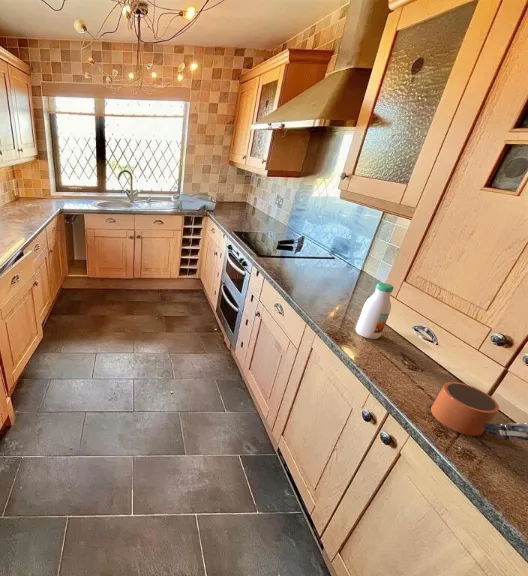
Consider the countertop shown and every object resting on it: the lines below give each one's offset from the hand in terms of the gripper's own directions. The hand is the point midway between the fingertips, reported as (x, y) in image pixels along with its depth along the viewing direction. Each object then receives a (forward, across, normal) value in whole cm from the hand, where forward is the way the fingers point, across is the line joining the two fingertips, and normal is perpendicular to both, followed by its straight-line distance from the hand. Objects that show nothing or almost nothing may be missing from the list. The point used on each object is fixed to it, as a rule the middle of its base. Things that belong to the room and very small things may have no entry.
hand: (488, 428), depth 72 cm
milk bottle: (+35, 0, -28) cm, 45 cm away
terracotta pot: (+8, 0, -1) cm, 8 cm away
